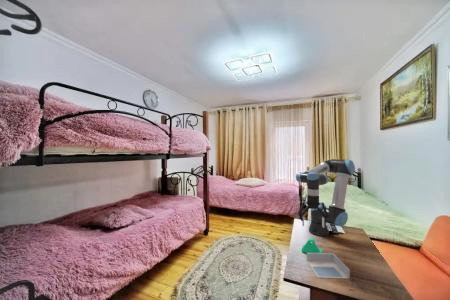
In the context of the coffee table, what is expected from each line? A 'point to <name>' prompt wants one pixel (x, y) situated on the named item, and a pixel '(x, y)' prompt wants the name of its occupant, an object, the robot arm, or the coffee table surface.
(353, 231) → the coffee table surface
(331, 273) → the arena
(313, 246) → the camera mount
